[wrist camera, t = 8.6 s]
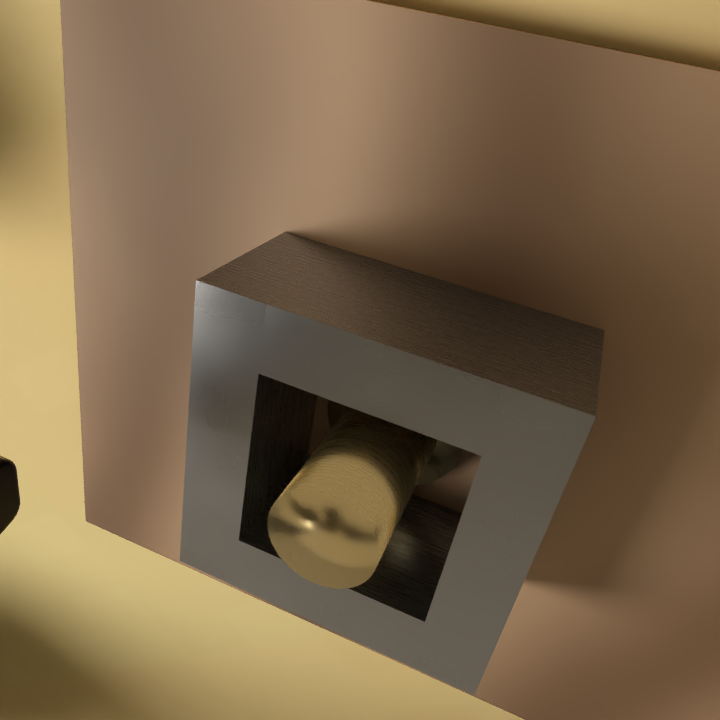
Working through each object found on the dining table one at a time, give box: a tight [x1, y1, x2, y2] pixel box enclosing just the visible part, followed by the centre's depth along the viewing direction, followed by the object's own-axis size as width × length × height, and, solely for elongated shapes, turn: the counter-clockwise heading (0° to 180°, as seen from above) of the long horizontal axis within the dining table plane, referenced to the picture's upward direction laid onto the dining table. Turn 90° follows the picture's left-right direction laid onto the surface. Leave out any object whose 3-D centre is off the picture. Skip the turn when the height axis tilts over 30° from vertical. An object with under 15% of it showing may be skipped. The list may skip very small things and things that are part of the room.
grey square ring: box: [180, 231, 605, 695], centre depth 12 cm, size 6×6×3 cm
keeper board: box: [60, 0, 720, 720], centre depth 14 cm, size 16×14×1 cm
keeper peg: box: [267, 400, 463, 589], centre depth 11 cm, size 3×3×4 cm
